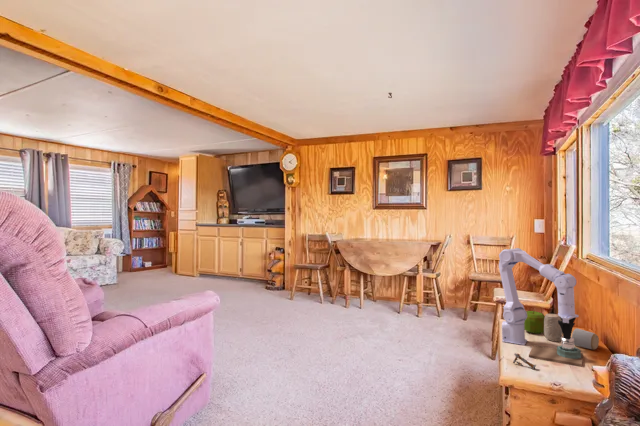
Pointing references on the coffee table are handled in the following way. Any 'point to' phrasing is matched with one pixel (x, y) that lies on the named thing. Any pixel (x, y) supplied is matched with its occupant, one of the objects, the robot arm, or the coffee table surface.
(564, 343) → the clear glass jar
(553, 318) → the carving
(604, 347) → the coffee table surface
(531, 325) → the apple
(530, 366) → the wooden post with brackets
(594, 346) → the grey cylinder
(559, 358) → the board
